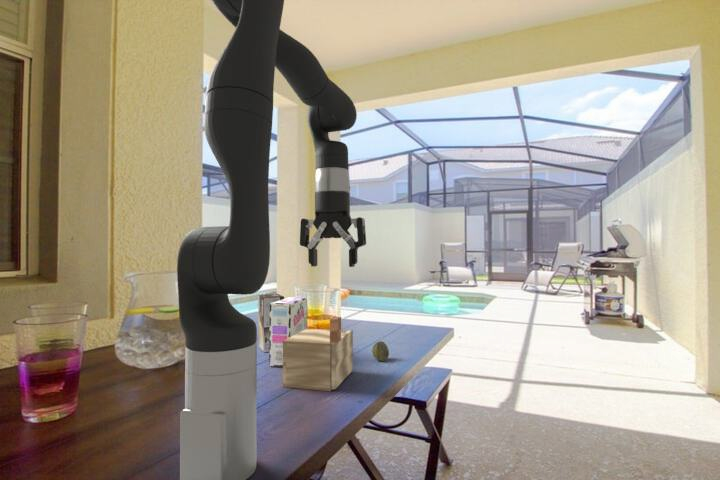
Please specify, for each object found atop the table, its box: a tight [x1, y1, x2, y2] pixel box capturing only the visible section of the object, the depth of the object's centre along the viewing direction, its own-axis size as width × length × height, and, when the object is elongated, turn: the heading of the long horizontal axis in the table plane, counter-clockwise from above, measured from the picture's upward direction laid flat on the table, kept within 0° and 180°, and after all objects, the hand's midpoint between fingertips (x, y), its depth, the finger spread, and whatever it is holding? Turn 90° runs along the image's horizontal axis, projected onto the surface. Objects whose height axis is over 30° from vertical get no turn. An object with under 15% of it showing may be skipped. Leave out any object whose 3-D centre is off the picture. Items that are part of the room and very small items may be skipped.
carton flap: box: [329, 316, 354, 391], centre depth 93 cm, size 14×2×15 cm, turn 166°
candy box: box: [268, 296, 308, 368], centre depth 110 cm, size 14×6×16 cm, turn 168°
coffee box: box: [257, 293, 285, 353], centre depth 123 cm, size 9×6×16 cm
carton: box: [282, 328, 348, 392], centre depth 94 cm, size 14×11×10 cm
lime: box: [371, 341, 390, 362], centre depth 110 cm, size 4×5×5 cm
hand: (332, 266), depth 87 cm, fingers open, 8 cm apart
